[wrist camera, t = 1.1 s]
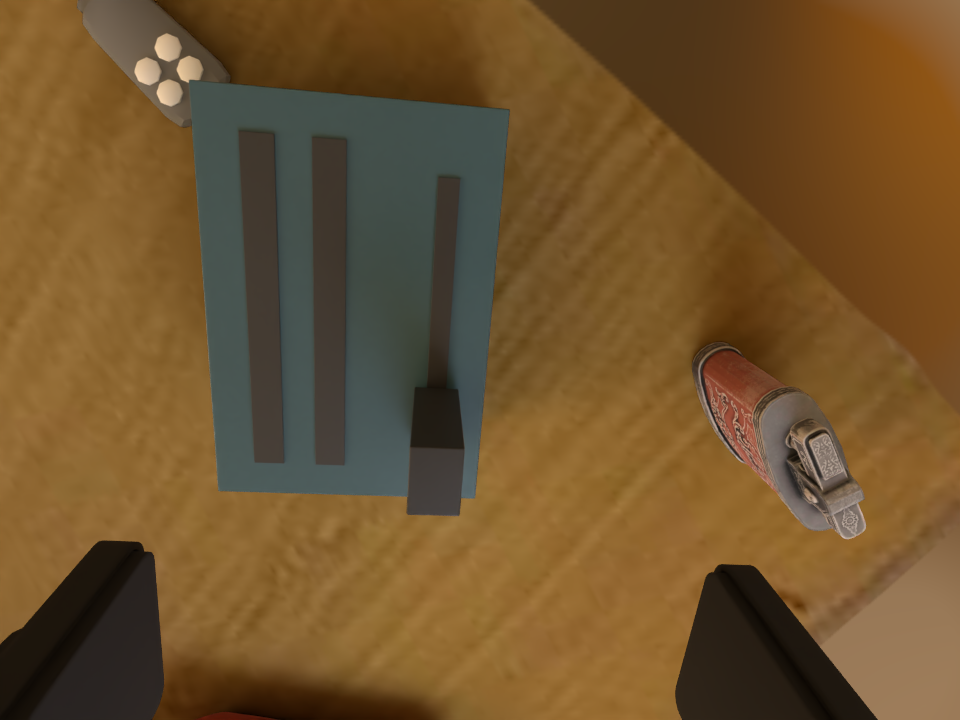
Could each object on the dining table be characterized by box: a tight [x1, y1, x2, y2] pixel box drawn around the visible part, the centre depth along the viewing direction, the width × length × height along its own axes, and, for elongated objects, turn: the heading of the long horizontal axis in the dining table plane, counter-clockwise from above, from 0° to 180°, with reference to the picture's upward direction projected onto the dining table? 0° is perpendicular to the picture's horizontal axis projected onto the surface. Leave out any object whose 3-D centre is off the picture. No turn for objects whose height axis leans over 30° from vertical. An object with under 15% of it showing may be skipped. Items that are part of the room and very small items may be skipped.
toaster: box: [189, 80, 510, 498], centre depth 27 cm, size 11×16×8 cm
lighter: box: [692, 342, 866, 539], centre depth 30 cm, size 8×3×10 cm, turn 29°
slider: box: [407, 387, 465, 516], centre depth 22 cm, size 2×3×5 cm
